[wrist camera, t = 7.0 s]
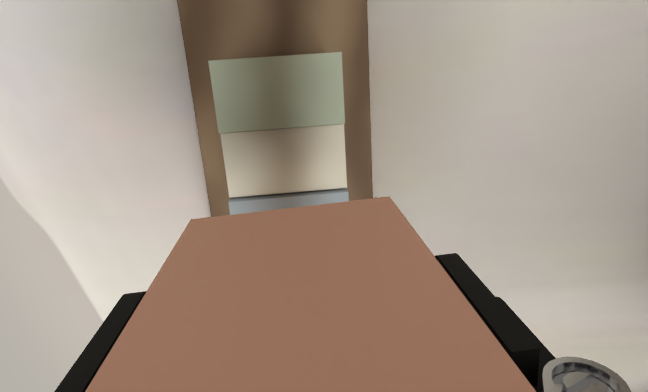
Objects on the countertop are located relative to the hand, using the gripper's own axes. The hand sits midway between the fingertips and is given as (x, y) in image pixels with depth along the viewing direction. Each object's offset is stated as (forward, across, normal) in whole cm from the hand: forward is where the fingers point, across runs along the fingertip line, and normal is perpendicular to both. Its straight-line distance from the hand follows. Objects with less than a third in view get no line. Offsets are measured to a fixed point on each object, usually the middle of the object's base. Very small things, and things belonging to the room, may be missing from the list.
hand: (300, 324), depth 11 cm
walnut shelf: (+24, 0, -3) cm, 24 cm away
